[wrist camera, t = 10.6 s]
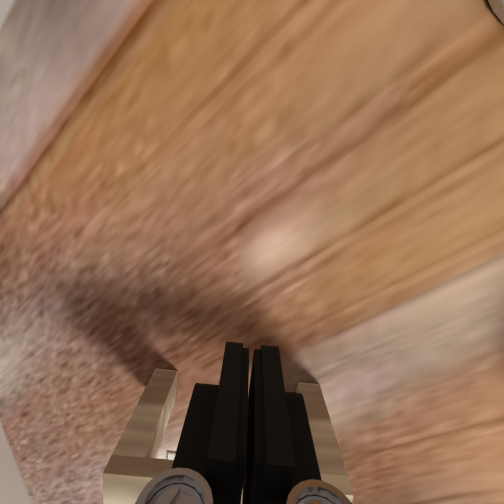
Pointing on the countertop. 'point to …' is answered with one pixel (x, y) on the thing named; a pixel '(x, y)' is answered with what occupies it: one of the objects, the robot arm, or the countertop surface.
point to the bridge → (147, 467)
